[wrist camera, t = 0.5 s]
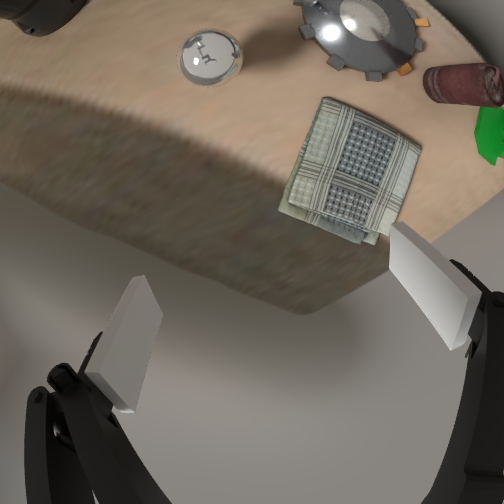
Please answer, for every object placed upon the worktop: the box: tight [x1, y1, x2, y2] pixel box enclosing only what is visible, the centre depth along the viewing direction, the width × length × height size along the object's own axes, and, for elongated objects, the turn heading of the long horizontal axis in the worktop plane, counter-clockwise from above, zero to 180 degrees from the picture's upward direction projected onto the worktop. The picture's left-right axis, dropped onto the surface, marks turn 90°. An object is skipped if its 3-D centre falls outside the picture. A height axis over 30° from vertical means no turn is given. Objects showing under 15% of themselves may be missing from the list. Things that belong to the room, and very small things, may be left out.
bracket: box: [474, 106, 504, 166], centre depth 30 cm, size 12×8×7 cm, turn 164°
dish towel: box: [278, 97, 421, 245], centre depth 37 cm, size 19×18×3 cm
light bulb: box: [176, 28, 244, 88], centre depth 25 cm, size 7×7×12 cm
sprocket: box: [293, 0, 423, 82], centre depth 24 cm, size 19×20×5 cm
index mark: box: [413, 18, 429, 27], centre depth 25 cm, size 3×1×1 cm, turn 109°
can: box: [423, 63, 504, 108], centre depth 24 cm, size 6×6×14 cm
